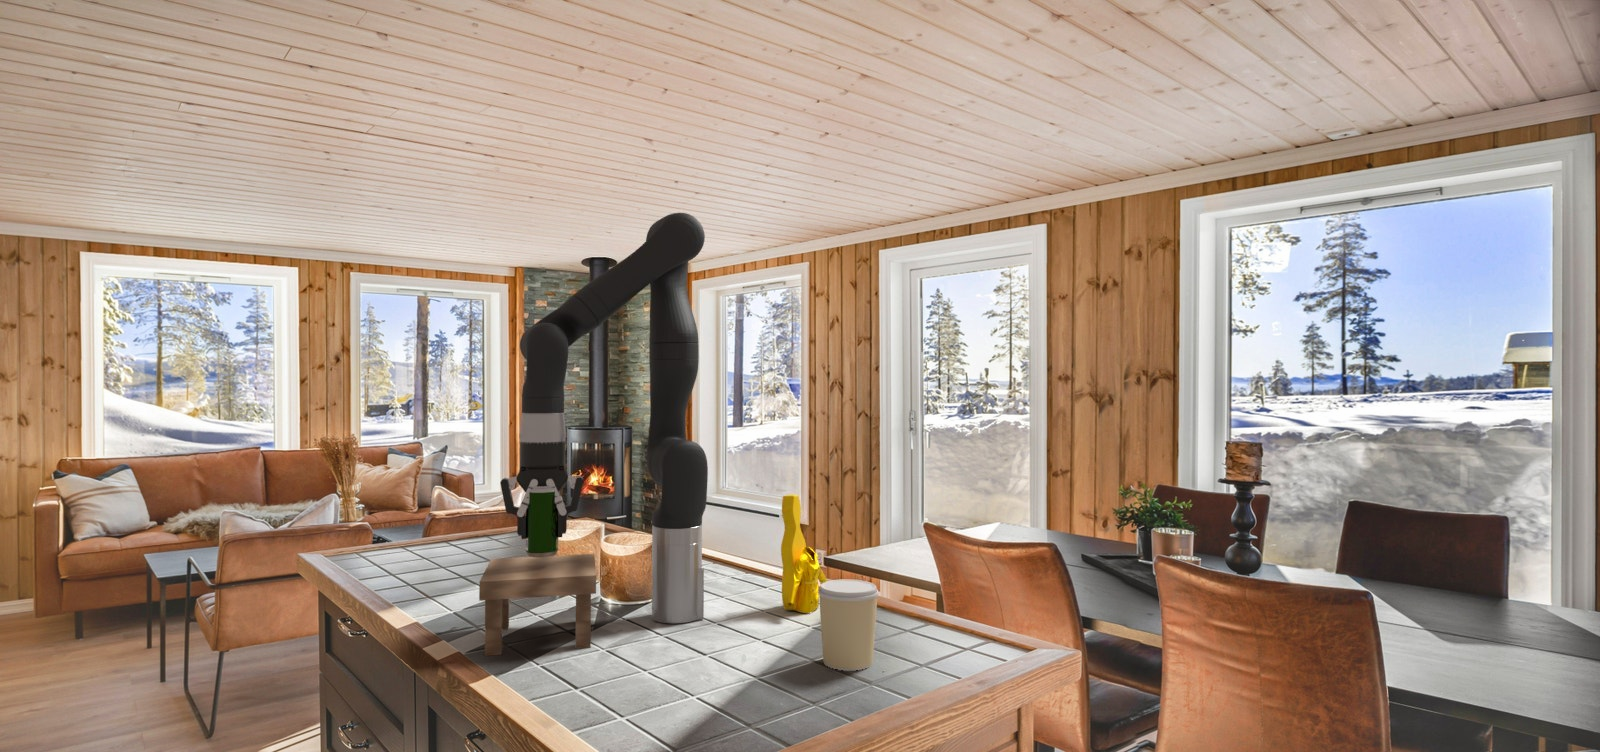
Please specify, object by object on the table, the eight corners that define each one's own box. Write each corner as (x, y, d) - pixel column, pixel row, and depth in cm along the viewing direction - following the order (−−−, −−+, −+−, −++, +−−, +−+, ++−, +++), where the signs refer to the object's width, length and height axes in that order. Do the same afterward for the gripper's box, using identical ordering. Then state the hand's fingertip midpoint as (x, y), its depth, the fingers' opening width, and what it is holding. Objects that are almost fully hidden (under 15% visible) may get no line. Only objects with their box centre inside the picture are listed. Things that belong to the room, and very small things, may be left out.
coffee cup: (884, 656, 131) (884, 581, 131) (869, 676, 122) (869, 595, 122) (828, 650, 134) (828, 576, 134) (810, 668, 125) (810, 590, 125)
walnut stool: (593, 618, 152) (594, 553, 152) (595, 648, 134) (596, 575, 135) (490, 625, 147) (491, 558, 147) (478, 657, 130) (479, 581, 130)
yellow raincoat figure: (800, 623, 149) (800, 502, 150) (761, 618, 153) (762, 500, 153) (836, 600, 165) (836, 491, 166) (801, 596, 169) (801, 489, 169)
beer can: (530, 559, 137) (531, 487, 137) (521, 553, 142) (522, 484, 142) (562, 555, 140) (562, 485, 140) (552, 550, 145) (553, 482, 145)
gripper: (585, 437, 147) (584, 532, 146) (500, 438, 143) (499, 535, 143) (586, 440, 140) (585, 539, 139) (496, 441, 136) (495, 543, 135)
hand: (542, 537), depth 141 cm, fingers closed on beer can, 5 cm apart
